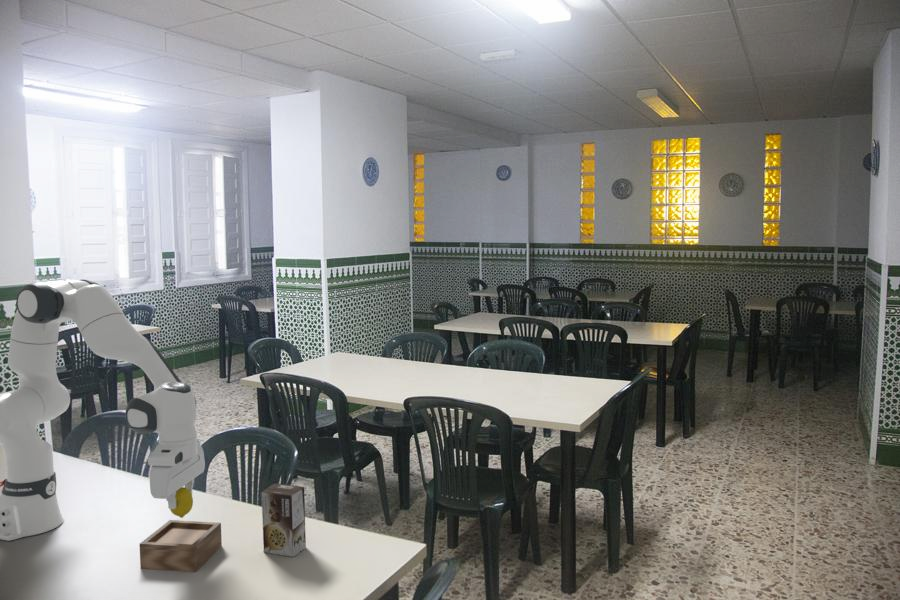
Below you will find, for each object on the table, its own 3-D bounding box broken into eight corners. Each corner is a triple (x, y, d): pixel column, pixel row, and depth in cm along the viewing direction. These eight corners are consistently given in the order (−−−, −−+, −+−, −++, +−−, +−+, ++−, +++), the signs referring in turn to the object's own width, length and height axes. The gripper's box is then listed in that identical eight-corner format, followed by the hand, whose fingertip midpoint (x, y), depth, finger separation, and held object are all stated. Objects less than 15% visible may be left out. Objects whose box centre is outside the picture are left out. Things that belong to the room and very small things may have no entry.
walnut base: (140, 568, 168) (139, 543, 167) (170, 542, 181) (169, 520, 181) (195, 571, 166) (194, 547, 165) (221, 545, 180) (220, 522, 179)
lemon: (185, 522, 169) (183, 491, 169) (165, 521, 171) (163, 489, 170) (198, 513, 175) (196, 483, 174) (178, 512, 176) (176, 481, 175)
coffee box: (306, 546, 179) (305, 486, 178) (293, 557, 173) (292, 495, 172) (276, 541, 182) (275, 482, 181) (262, 552, 176) (260, 490, 175)
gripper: (187, 435, 182) (189, 486, 183) (143, 461, 161) (146, 518, 163) (210, 436, 181) (212, 487, 182) (169, 462, 161) (171, 519, 162)
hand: (180, 502), depth 172 cm, fingers closed on lemon, 6 cm apart
